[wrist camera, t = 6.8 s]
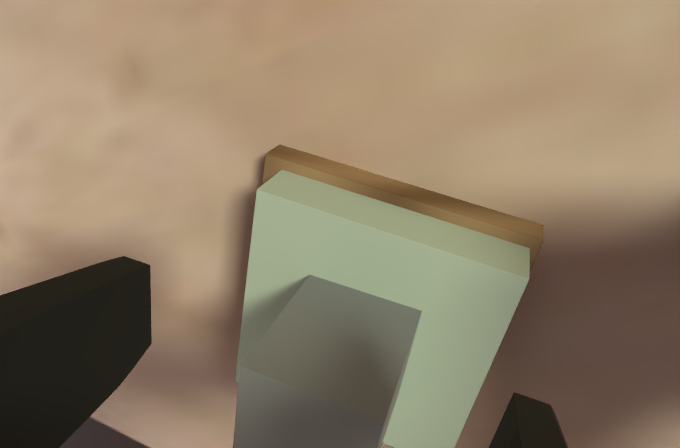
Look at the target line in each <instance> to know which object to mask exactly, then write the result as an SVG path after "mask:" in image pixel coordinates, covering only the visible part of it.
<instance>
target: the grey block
mask: <svg viewBox="0 0 680 448" xmlns="http://www.w3.org/2000/svg"><path fill="white" fill-rule="evenodd" d="M421 313H422V311H421V310H418V309H415V308H412V307H409V306H405V305H402V304H399V303H396V302H393V301H390V300H387V299H384V298H381V297H378V296H375V295H371V294H368V293H365V292H362V291H359V290H356V289H353V288H350V287H347V286H344V285H341V284H337V283H334V282H331V281H328V280H325V279H322V278H319V277H316V276H313V275H309V276H308V278H307V279H306V280H305V282H304V283H303V284H302V286H301V287H300V288H299V290H298V291H297V292H296V293H295V295H294V296H293V297H292V299H291V300H290V301H289V303H288V304H287V305H286V307H285V308H284V309H283V310H282V312H281V313H280V314H279V316H278V317H277V318H276V320H275V321H274V322H273V324H272V325H271V326H270V328H269V329H268V330H267V331H266V333H265V334H264V335H263V337H262V338H261V339H260V341H259V342H258V343H257V345H256V346H255V347H254V349H253V350H252V351H251V352H250V354H249V355H248V356H247V358H246V359H245V360H244V362H243V363H242V364H241V366H240V372H239V384H238V396H237V408H236V419H235V431H234V443H233V448H381V446H382V443H383V440H384V437H385V434H386V431H387V428H388V424H389V421H390V418H391V415H392V412H393V409H394V406H395V403H396V400H397V397H398V394H399V390H400V387H401V383H402V379H403V376H404V372H405V369H406V365H407V362H408V358H409V355H410V351H411V348H412V344H413V341H414V337H415V334H416V330H417V327H418V323H419V320H420V316H421Z"/></svg>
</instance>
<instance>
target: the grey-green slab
mask: <svg viewBox="0 0 680 448" xmlns="http://www.w3.org/2000/svg"><path fill="white" fill-rule="evenodd" d="M529 271H530V248H528V247H524V246H521V245H518V244H515V243H512V242H509V241H506V240H502V239H499V238H496V237H493V236H490V235H487V234H483V233H480V232H477V231H474V230H471V229H468V228H465V227H461V226H458V225H455V224H452V223H449V222H446V221H442V220H439V219H436V218H433V217H430V216H427V215H423V214H420V213H417V212H414V211H411V210H408V209H405V208H401V207H398V206H395V205H392V204H389V203H386V202H382V201H379V200H376V199H373V198H370V197H367V196H363V195H360V194H357V193H354V192H351V191H348V190H345V189H341V188H338V187H335V186H332V185H329V184H326V183H322V182H319V181H316V180H313V179H310V178H307V177H304V176H300V175H297V174H294V173H291V172H288V171H285V170H281V171H279V172H278V173H277V174H276V175H274V176H273V177H272V178H271V179H269V180H268V181H267V182H266V183H264V184H263V185H262V186H261V187H259V188H258V189H257V193H256V201H255V210H254V218H253V227H252V236H251V244H250V253H249V262H248V270H247V279H246V287H245V296H244V305H243V313H242V322H241V331H240V339H239V348H238V356H237V365H236V374H235V382H236V383H239V372H240V366H241V364H242V363H243V362H244V360H245V359H246V358H247V356H248V355H249V354H250V352H251V351H252V350H253V349H254V347H255V346H256V345H257V343H258V342H259V341H260V339H261V338H262V337H263V335H264V334H265V333H266V331H267V330H268V329H269V328H270V326H271V325H272V324H273V322H274V321H275V320H276V318H277V317H278V316H279V314H280V313H281V312H282V310H283V309H284V308H285V307H286V305H287V304H288V303H289V301H290V300H291V299H292V297H293V296H294V295H295V293H296V292H297V291H298V290H299V288H300V287H301V286H302V284H303V283H304V282H305V280H306V279H307V278H308V276H309V275H313V276H316V277H319V278H322V279H325V280H328V281H331V282H334V283H337V284H341V285H344V286H347V287H350V288H353V289H356V290H359V291H362V292H365V293H368V294H371V295H375V296H378V297H381V298H384V299H387V300H390V301H393V302H396V303H399V304H402V305H405V306H409V307H412V308H415V309H418V310H421V311H422V313H421V316H420V320H419V323H418V327H417V330H416V334H415V337H414V341H413V344H412V348H411V351H410V355H409V358H408V362H407V365H406V369H405V372H404V376H403V379H402V383H401V387H400V390H399V394H398V397H397V400H396V403H395V406H394V409H393V412H392V415H391V418H390V421H389V424H388V428H387V431H386V434H385V437H384V440H383V443H384V444H387V445H389V446H391V447H394V448H454V447H455V445H456V443H457V440H458V438H459V436H460V434H461V431H462V429H463V427H464V425H465V422H466V420H467V418H468V416H469V413H470V411H471V409H472V407H473V404H474V402H475V400H476V398H477V395H478V393H479V391H480V389H481V386H482V384H483V382H484V380H485V377H486V375H487V373H488V371H489V369H490V366H491V364H492V362H493V360H494V357H495V355H496V353H497V351H498V348H499V346H500V344H501V342H502V339H503V337H504V335H505V333H506V330H507V328H508V326H509V324H510V321H511V319H512V317H513V315H514V312H515V310H516V308H517V306H518V303H519V301H520V299H521V297H522V294H523V292H524V290H525V288H526V285H527V283H528V281H529Z"/></svg>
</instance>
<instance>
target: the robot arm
mask: <svg viewBox="0 0 680 448" xmlns="http://www.w3.org/2000/svg"><path fill="white" fill-rule="evenodd" d="M150 345H151V290H150V265H148V264H145V263H142V262H139V261H137V260H134V259H131V258H128V257H125V256H123V257H119V258H115V259H111V260H108V261H105V262H101V263H98V264H95V265H92V266H89V267H86V268H83V269H79V270H76V271H73V272H70V273H67V274H64V275H61V276H58V277H55V278H52V279H49V280H46V281H43V282H40V283H37V284H34V285H31V286H28V287H25V288H22V289H19V290H16V291H13V292H10V293H7V294H3V295H0V448H59V447H60V446H61V445H62V444H63V443H64V442H65V441H66V440H67V439H68V438H69V437H70V436H71V435H72V433H74V432H75V431H76V430H77V429H78V428H79V427H80V426H81V425H82V424H83V423H84V422H85V421H86V419H88V418H89V417H90V416H91V414H92V413H93V412H94V411H95V410H96V409H97V408H98V407H99V406H100V405H101V404H102V403H103V402H104V401H105V400H106V399H107V398H108V397H109V396H110V395H111V394H112V393H113V392H114V391H115V390H116V389H117V387H118V386H119V385H120V384H121V383H122V382H123V380H124V379H125V378H126V377H127V375H128V374H129V373H130V371H131V370H132V369H133V368H134V366H135V365H136V364H137V362H138V361H139V360H140V358H141V357H142V355H143V354H144V353H145V351H146V350H147V349H148V347H149V346H150ZM489 448H568V446H567V444H566V441H565V439H564V436H563V433H562V431H561V428H560V426H559V423H558V420H557V418H556V415H555V413H554V411H553V409H552V407H551V405H549V404H546V403H543V402H540V401H538V400H535V399H532V398H529V397H526V396H523V395H520V394H517V393H515V392H514V393H513V396H512V398H511V400H510V402H509V404H508V407H507V409H506V411H505V413H504V415H503V418H502V420H501V422H500V424H499V427H498V429H497V431H496V433H495V435H494V438H493V440H492V442H491V444H490V446H489Z"/></svg>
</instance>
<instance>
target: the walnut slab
mask: <svg viewBox="0 0 680 448" xmlns="http://www.w3.org/2000/svg"><path fill="white" fill-rule="evenodd" d="M281 170H285V171H288V172H291V173H294V174H297V175H300V176H304V177H307V178H310V179H313V180H316V181H319V182H322V183H326V184H329V185H332V186H335V187H338V188H341V189H345V190H348V191H351V192H354V193H357V194H360V195H363V196H367V197H370V198H373V199H376V200H379V201H382V202H386V203H389V204H392V205H395V206H398V207H401V208H405V209H408V210H411V211H414V212H417V213H420V214H423V215H427V216H430V217H433V218H436V219H439V220H442V221H446V222H449V223H452V224H455V225H458V226H461V227H465V228H468V229H471V230H474V231H477V232H480V233H483V234H487V235H490V236H493V237H496V238H499V239H502V240H506V241H509V242H512V243H515V244H518V245H521V246H524V247H528V248H530V270H531V268H532V266H533V264H534V261H535V259H536V257H537V255H538V252H539V250H540V248H541V246H542V243H543V225H540V224H537V223H534V222H530V221H527V220H524V219H521V218H517V217H514V216H511V215H508V214H504V213H501V212H498V211H495V210H491V209H488V208H485V207H482V206H478V205H475V204H472V203H468V202H465V201H462V200H459V199H455V198H452V197H449V196H446V195H442V194H439V193H436V192H433V191H429V190H426V189H423V188H420V187H416V186H413V185H410V184H407V183H403V182H400V181H397V180H394V179H390V178H387V177H384V176H381V175H377V174H374V173H371V172H367V171H364V170H361V169H358V168H354V167H351V166H348V165H345V164H341V163H338V162H335V161H332V160H328V159H325V158H322V157H319V156H315V155H312V154H309V153H306V152H302V151H299V150H296V149H293V148H289V147H286V146H283V145H279V146H277V147H276V148H274V149H273V150H271V151H270V152H268V153H267V154H266V157H265V165H264V173H263V181H262V185H263V184H264V183H266V182H267V181H268V180H269V179H271V178H272V177H273V176H274V175H276V174H277V173H278V172H279V171H281ZM529 273H530V271H529Z"/></svg>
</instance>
